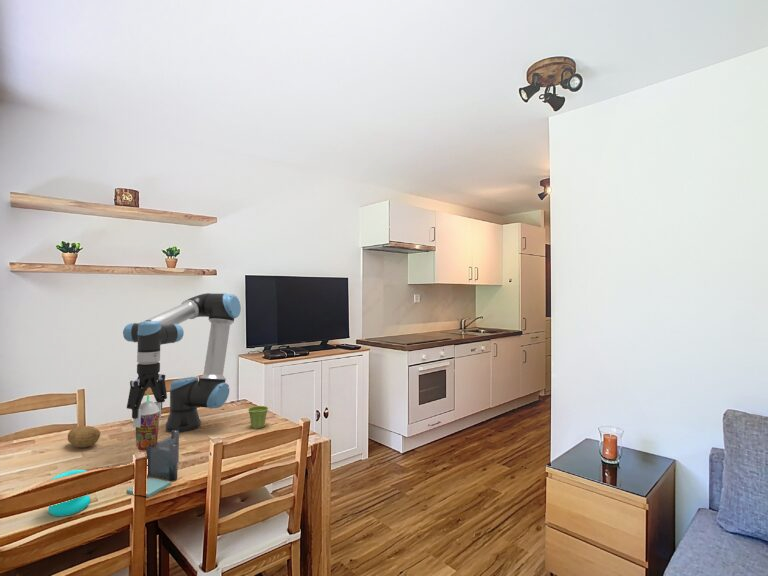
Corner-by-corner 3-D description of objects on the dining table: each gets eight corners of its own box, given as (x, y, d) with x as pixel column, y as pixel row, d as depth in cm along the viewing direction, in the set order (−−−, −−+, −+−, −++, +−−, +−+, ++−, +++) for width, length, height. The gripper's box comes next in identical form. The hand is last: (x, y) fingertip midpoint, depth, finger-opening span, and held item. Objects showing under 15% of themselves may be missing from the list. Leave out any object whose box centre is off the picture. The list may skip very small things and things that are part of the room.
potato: (84, 439, 177) (84, 421, 177) (106, 444, 172) (107, 425, 172) (59, 448, 167) (59, 428, 167) (82, 453, 162) (82, 433, 162)
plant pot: (264, 430, 192) (264, 411, 192) (244, 429, 192) (245, 411, 192) (270, 423, 201) (270, 406, 201) (251, 423, 202) (251, 405, 202)
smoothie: (132, 453, 148) (133, 398, 148) (135, 445, 156) (136, 392, 156) (158, 450, 151) (159, 396, 152) (160, 442, 159) (161, 390, 159)
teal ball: (78, 465, 129) (98, 472, 125) (78, 497, 129) (97, 505, 125) (41, 478, 120) (61, 486, 116) (40, 512, 120) (60, 521, 116)
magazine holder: (144, 475, 144) (145, 441, 144) (174, 460, 157) (175, 429, 157) (173, 481, 141) (173, 446, 141) (201, 465, 154) (202, 433, 154)
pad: (126, 493, 132) (126, 489, 132) (149, 480, 141) (149, 477, 141) (148, 497, 130) (148, 494, 130) (170, 484, 138) (170, 481, 138)
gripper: (131, 368, 143) (130, 433, 142) (178, 358, 163) (177, 415, 163) (115, 366, 145) (113, 430, 145) (163, 357, 165) (162, 413, 165)
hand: (147, 422), depth 154 cm, fingers closed on smoothie, 8 cm apart
